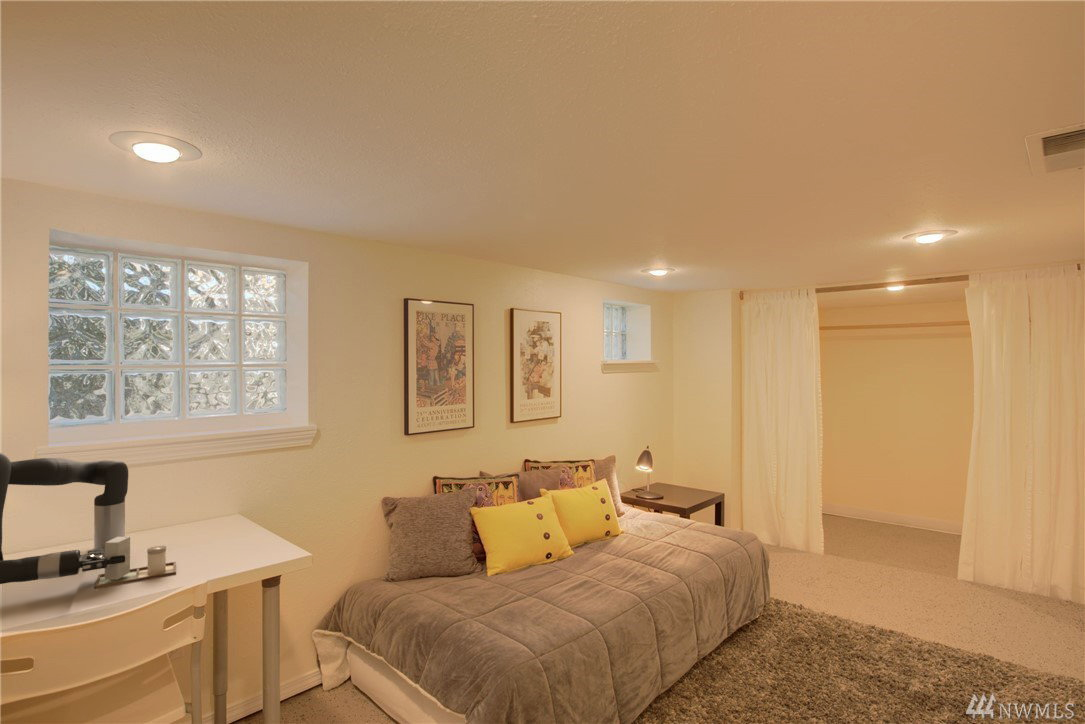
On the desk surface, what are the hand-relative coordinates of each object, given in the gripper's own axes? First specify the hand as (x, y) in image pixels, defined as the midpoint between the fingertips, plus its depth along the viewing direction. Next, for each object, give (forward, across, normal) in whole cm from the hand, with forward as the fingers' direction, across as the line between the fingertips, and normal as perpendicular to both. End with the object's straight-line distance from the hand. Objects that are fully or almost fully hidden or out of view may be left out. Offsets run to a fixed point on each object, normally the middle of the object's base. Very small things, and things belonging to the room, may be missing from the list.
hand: (125, 554), depth 181 cm
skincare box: (-2, 0, +7) cm, 7 cm away
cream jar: (+8, 0, +7) cm, 11 cm away
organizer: (+3, 0, +8) cm, 9 cm away
